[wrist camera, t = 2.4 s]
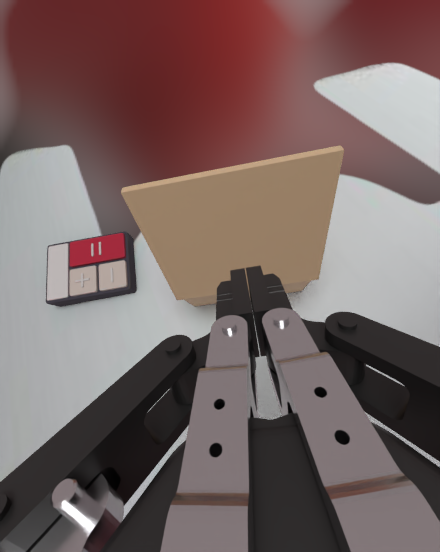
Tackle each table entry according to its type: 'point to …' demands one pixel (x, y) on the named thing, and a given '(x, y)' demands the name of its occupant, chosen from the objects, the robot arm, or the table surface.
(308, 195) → the lid
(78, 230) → the table surface
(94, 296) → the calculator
